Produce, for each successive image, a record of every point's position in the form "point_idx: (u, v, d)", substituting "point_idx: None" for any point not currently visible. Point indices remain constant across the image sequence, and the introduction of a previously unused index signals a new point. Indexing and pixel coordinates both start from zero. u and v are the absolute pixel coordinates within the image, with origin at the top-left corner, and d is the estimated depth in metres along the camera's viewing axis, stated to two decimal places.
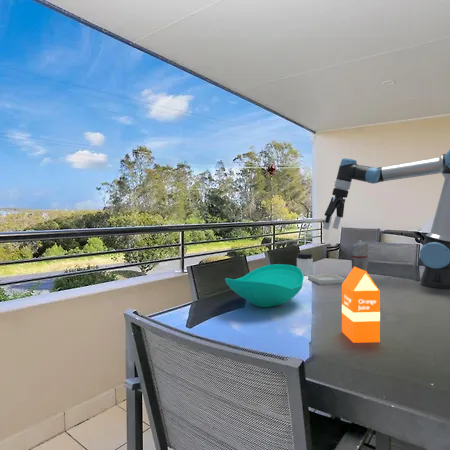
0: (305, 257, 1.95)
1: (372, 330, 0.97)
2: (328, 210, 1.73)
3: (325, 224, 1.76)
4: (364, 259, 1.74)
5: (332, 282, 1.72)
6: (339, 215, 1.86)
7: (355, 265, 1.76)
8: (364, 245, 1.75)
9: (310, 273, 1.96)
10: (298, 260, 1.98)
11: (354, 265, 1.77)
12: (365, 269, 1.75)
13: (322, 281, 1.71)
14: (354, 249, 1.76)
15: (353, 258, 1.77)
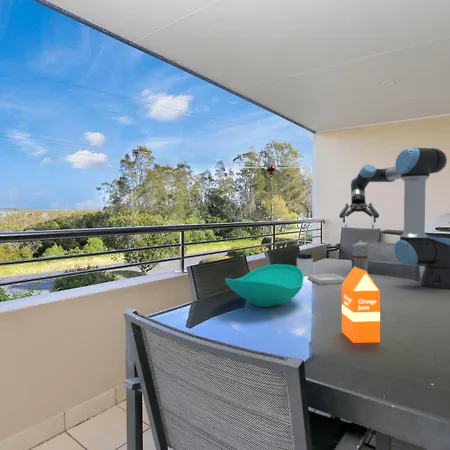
0: (305, 257, 1.95)
1: (372, 330, 0.97)
2: None
3: (345, 223, 1.91)
4: (364, 259, 1.74)
5: (332, 282, 1.72)
6: (373, 215, 1.89)
7: (355, 265, 1.76)
8: (364, 245, 1.75)
9: (310, 273, 1.96)
10: (298, 260, 1.98)
11: (354, 265, 1.77)
12: (365, 269, 1.75)
13: (322, 281, 1.71)
14: (354, 249, 1.76)
15: (353, 258, 1.77)
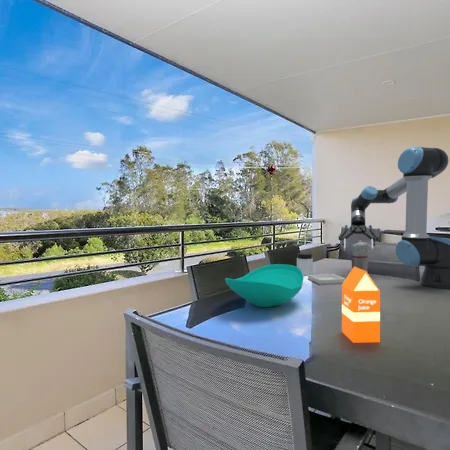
0: (305, 257, 1.95)
1: (372, 330, 0.97)
2: None
3: (344, 246, 1.87)
4: (364, 259, 1.74)
5: (332, 282, 1.72)
6: None
7: (355, 265, 1.76)
8: (364, 245, 1.75)
9: (310, 273, 1.96)
10: (298, 260, 1.98)
11: (354, 265, 1.77)
12: (365, 269, 1.75)
13: (322, 281, 1.71)
14: (354, 249, 1.76)
15: (353, 258, 1.77)
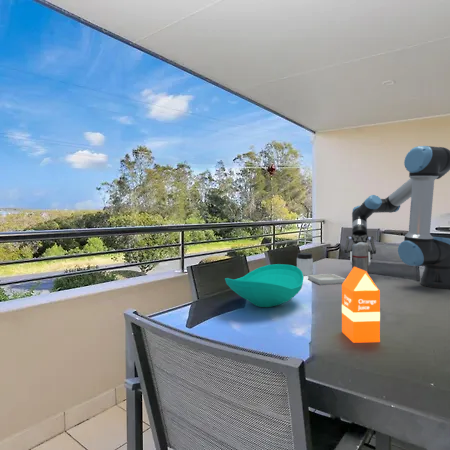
0: (305, 257, 1.95)
1: (372, 330, 0.97)
2: (345, 248, 1.84)
3: None
4: (364, 259, 1.74)
5: (332, 282, 1.72)
6: (369, 251, 1.78)
7: (355, 265, 1.76)
8: (365, 245, 1.74)
9: (310, 273, 1.96)
10: (298, 260, 1.98)
11: (355, 264, 1.76)
12: (365, 269, 1.75)
13: (322, 281, 1.71)
14: (355, 249, 1.76)
15: (353, 258, 1.77)
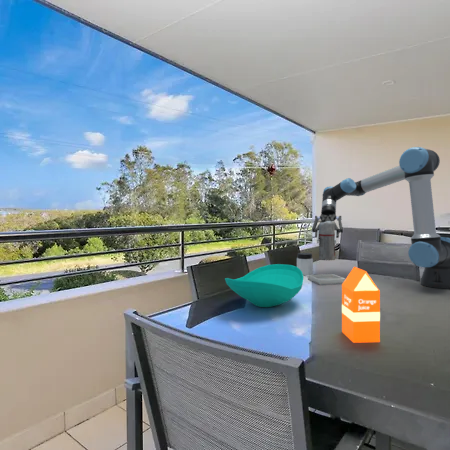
0: (305, 257, 1.95)
1: (372, 330, 0.97)
2: None
3: (317, 238, 1.79)
4: (330, 238, 1.74)
5: (332, 282, 1.72)
6: None
7: (322, 243, 1.76)
8: (331, 223, 1.74)
9: (310, 273, 1.96)
10: (298, 260, 1.98)
11: (321, 243, 1.76)
12: (331, 247, 1.75)
13: (322, 281, 1.71)
14: (321, 227, 1.76)
15: (320, 236, 1.77)
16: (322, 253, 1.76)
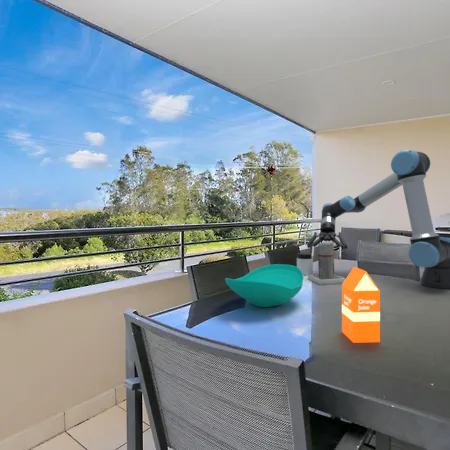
0: (305, 257, 1.95)
1: (372, 330, 0.97)
2: None
3: (312, 254, 1.80)
4: (329, 258, 1.75)
5: (332, 282, 1.72)
6: (341, 246, 1.78)
7: (321, 264, 1.76)
8: (330, 244, 1.75)
9: (310, 273, 1.96)
10: (298, 260, 1.98)
11: (320, 264, 1.77)
12: (331, 268, 1.75)
13: (322, 281, 1.71)
14: (320, 248, 1.76)
15: (319, 257, 1.77)
16: (322, 273, 1.76)
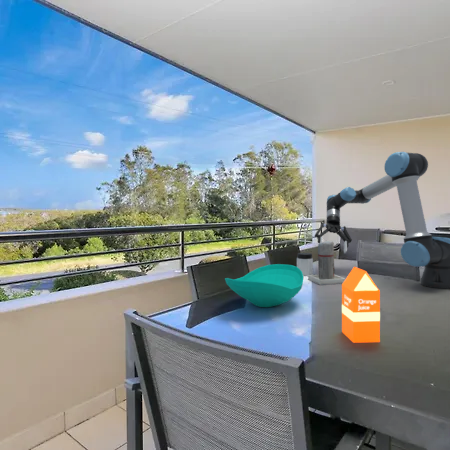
0: (305, 257, 1.95)
1: (372, 330, 0.97)
2: None
3: None
4: (329, 258, 1.75)
5: (332, 282, 1.72)
6: (346, 240, 1.94)
7: (321, 264, 1.76)
8: (330, 244, 1.75)
9: (310, 273, 1.96)
10: (298, 260, 1.98)
11: (320, 264, 1.77)
12: (331, 268, 1.75)
13: (322, 281, 1.71)
14: (320, 248, 1.76)
15: (319, 257, 1.77)
16: (322, 273, 1.76)
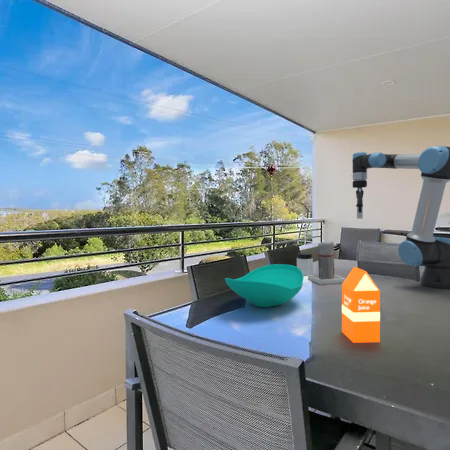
0: (305, 257, 1.95)
1: (372, 330, 0.97)
2: (359, 200, 1.87)
3: (358, 214, 1.89)
4: (329, 258, 1.75)
5: (332, 282, 1.72)
6: None
7: (321, 264, 1.76)
8: (330, 244, 1.75)
9: (310, 273, 1.96)
10: (298, 260, 1.98)
11: (320, 264, 1.77)
12: (331, 268, 1.75)
13: (322, 281, 1.71)
14: (320, 248, 1.76)
15: (319, 257, 1.77)
16: (322, 273, 1.76)
